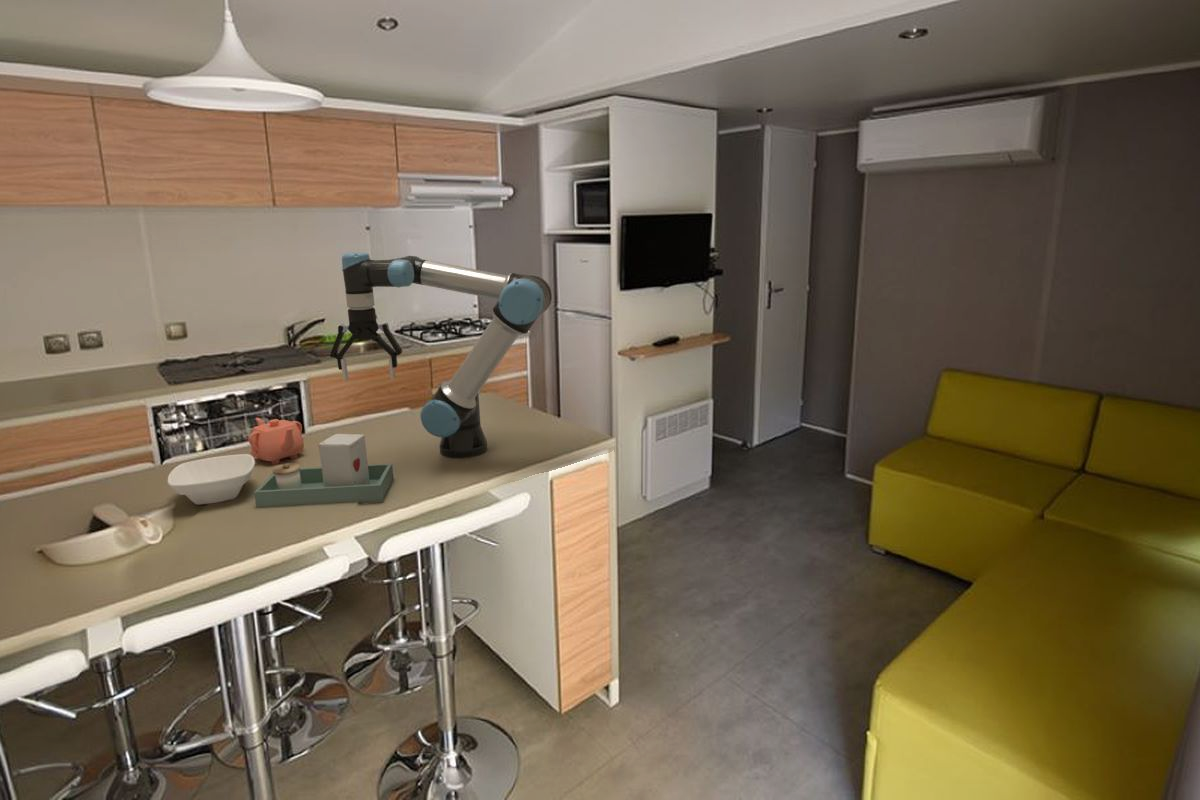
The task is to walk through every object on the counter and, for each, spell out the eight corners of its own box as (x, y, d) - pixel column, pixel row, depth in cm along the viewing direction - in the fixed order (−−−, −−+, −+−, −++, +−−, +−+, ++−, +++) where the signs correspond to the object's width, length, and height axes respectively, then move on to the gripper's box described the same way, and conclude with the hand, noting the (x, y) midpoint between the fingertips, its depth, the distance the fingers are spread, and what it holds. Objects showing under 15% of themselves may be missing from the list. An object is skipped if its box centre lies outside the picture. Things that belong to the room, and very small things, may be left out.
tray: (393, 479, 194) (392, 463, 192) (382, 502, 178) (380, 485, 177) (278, 486, 191) (276, 469, 189) (256, 510, 175) (253, 492, 174)
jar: (305, 488, 187) (302, 464, 185) (298, 497, 181) (294, 473, 179) (283, 489, 186) (279, 466, 184) (275, 498, 180) (271, 474, 178)
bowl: (167, 520, 171) (161, 489, 168) (180, 491, 189) (174, 462, 187) (257, 505, 179) (252, 475, 176) (261, 478, 197) (256, 450, 195)
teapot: (298, 465, 206) (292, 426, 203) (242, 468, 205) (235, 428, 202) (313, 448, 221) (308, 412, 217) (261, 451, 219) (255, 414, 216)
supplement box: (355, 497, 180) (348, 445, 176) (324, 496, 181) (317, 443, 177) (371, 484, 189) (365, 433, 184) (341, 483, 190) (334, 432, 186)
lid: (303, 464, 185) (303, 459, 185) (295, 474, 178) (294, 468, 178) (278, 465, 184) (277, 460, 184) (268, 475, 178) (267, 469, 177)
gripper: (407, 304, 198) (414, 374, 204) (320, 307, 196) (329, 377, 202) (403, 308, 191) (410, 380, 197) (312, 311, 189) (322, 384, 194)
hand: (369, 379), depth 199 cm, fingers open, 13 cm apart
